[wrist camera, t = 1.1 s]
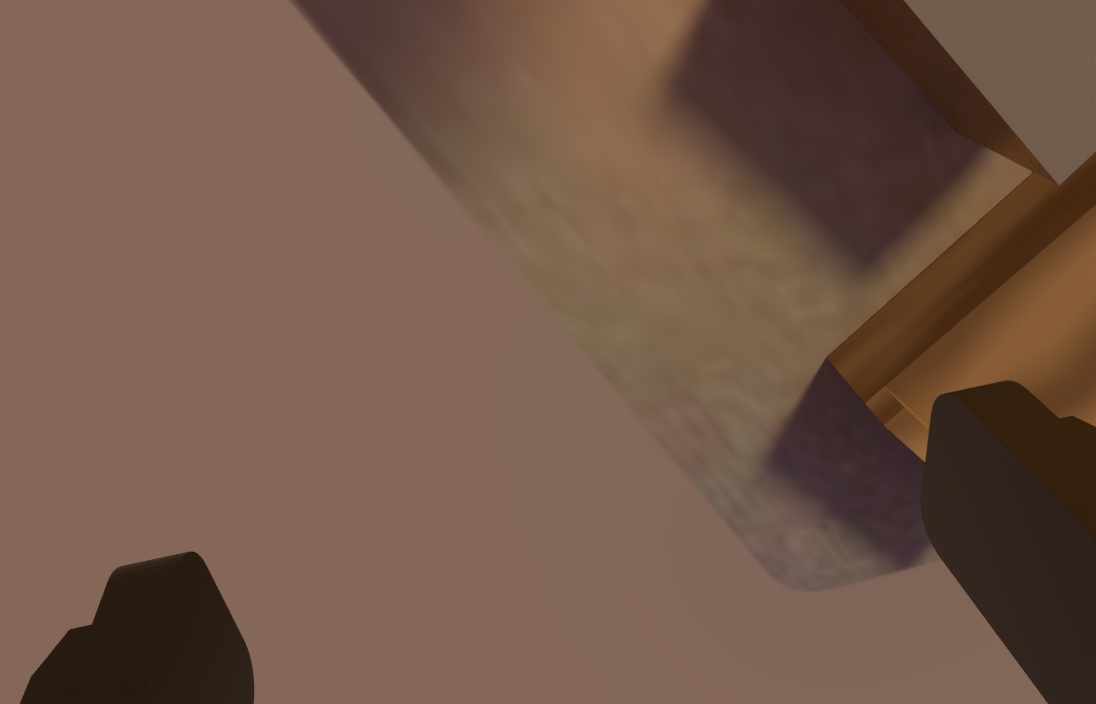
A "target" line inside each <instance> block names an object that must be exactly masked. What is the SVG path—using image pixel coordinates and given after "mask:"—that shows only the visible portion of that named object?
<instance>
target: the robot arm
mask: <svg viewBox="0 0 1096 704" xmlns="http://www.w3.org/2000/svg"><path fill="white" fill-rule="evenodd" d="M921 511H922V517H923V521H924V525H925V528H926V531H927V534H928V536H929V539H930V541H931V543H932V545H933V547H934V549H935V550H936V552H937V554H938V555H939V557H940V558H941V559H942V561H943V562H944V563H945V565H946V566H947V567H948V569H949V570H950V571H951V573H952V574H953V575H954V577H955V578H956V579H957V581H958V582H959V584H960V585H961V586H962V588H963V589H964V590H965V592H966V593H967V594H968V596H969V597H970V598H971V600H972V601H973V603H974V604H975V605H976V607H977V608H978V609H979V611H980V612H981V613H982V615H983V616H984V617H985V619H986V620H987V622H988V623H989V624H990V626H991V627H992V628H993V630H994V631H995V632H996V634H997V635H998V636H999V638H1000V639H1001V640H1002V642H1003V643H1004V644H1005V646H1006V647H1007V649H1008V650H1009V651H1010V653H1011V654H1012V655H1013V657H1014V658H1015V659H1016V661H1017V662H1018V663H1019V665H1020V666H1021V668H1022V669H1023V670H1024V672H1025V673H1026V674H1027V676H1028V677H1029V678H1030V680H1031V681H1032V682H1033V684H1034V685H1035V686H1036V688H1037V689H1038V691H1039V692H1040V693H1041V695H1042V696H1043V697H1044V699H1045V700H1046V701H1047V703H1048V704H1096V427H1095V426H1093V425H1091V424H1089V423H1087V422H1085V421H1083V420H1081V419H1079V418H1077V417H1074V416H1068V417H1063V418H1058V417H1057V416H1056V415H1055V414H1054V413H1053V412H1052V411H1051V410H1049V409H1048V408H1047V407H1046V406H1045V405H1044V404H1043V403H1042V402H1041V401H1040V400H1038V399H1037V398H1036V397H1035V396H1034V395H1033V394H1032V393H1031V392H1030V391H1028V390H1027V389H1026V388H1025V387H1024V386H1022V385H1021V384H1019V383H1017V382H1015V381H1011V380H1005V381H1001V382H996V383H991V384H987V385H982V386H977V387H973V388H968V389H963V390H958V391H954V392H949V393H944V394H941V395H939V396H938V397H937V398H936V400H935V401H934V403H933V406H932V411H931V418H930V426H929V434H928V442H927V451H926V459H925V467H924V475H923V484H922V492H921ZM253 703H254V677H253V669H252V664H251V659H250V655H249V651H248V648H247V646H246V643H245V641H244V639H243V637H242V635H241V633H240V631H239V629H238V627H237V625H236V623H235V621H234V620H233V618H232V615H231V613H230V611H229V609H228V607H227V605H226V604H225V601H224V600H223V598H222V595H221V593H220V591H219V589H218V587H217V586H216V583H215V582H214V580H213V578H212V576H211V574H210V572H209V570H208V568H207V566H206V564H205V562H204V560H203V559H202V558H201V557H200V556H199V555H198V554H197V553H195V552H185V553H181V554H176V555H171V556H167V557H162V558H157V559H153V560H148V561H143V562H138V563H134V564H129V565H124V566H120V567H118V568H117V569H115V570H114V572H113V573H112V574H111V576H110V578H109V580H108V582H107V585H106V588H105V591H104V593H103V596H102V599H101V601H100V604H99V607H98V609H97V612H96V615H95V618H94V620H93V623H92V625H88V626H84V627H78V628H75V629H70V630H69V631H68V632H67V633H66V635H65V636H64V637H63V638H62V639H61V641H60V642H59V643H58V644H57V646H56V647H55V648H54V649H53V651H52V652H51V653H50V654H49V656H48V657H47V658H46V659H45V660H44V662H43V663H42V664H41V665H40V667H39V668H38V669H37V670H36V671H35V673H34V674H33V675H32V676H31V678H30V680H29V683H28V685H27V688H26V690H25V693H24V695H23V697H22V700H21V702H20V704H253Z"/></svg>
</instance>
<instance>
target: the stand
mask: <svg viewBox="0 0 1096 704" xmlns="http://www.w3.org/2000/svg"><path fill="white" fill-rule="evenodd" d="M827 359H828V360H829V361H830V363H831V364H832V365H833V366H834V367H835V368H836V370H837V371H838V372H839V373H840V374H841V376H842V377H843V378H844V379H845V380H846V381H847V383H848V384H849V385H850V386H851V387H852V389H853V390H854V391H855V392H856V393H857V394H858V396H859V397H860V398H861V399H862V400H863V402H864V403H865V404H866V405H867V406H868V408H869V409H870V410H871V411H872V412H873V413H874V415H875V416H876V417H877V418H878V419H879V421H880V422H881V423H882V424H883V425H884V426H885V427H886V428H887V429H888V430H889V431H890V432H892V433H893V434H894V435H895V436H896V437H897V438H898V439H899V440H901V441H902V442H903V443H904V444H905V445H906V446H907V447H908V448H910V449H911V450H912V451H913V452H914V453H915V454H916V455H917V456H919V457H920V458H921V459H922V460H923V461H924V462H925V459H926V451H927V442H928V434H929V426H930V418H931V411H932V406H933V403H934V401H935V400H936V398H937V397H938V396H939V395H941V394H944V393H949V392H954V391H958V390H963V389H968V388H973V387H977V386H982V385H987V384H991V383H996V382H1001V381H1005V380H1011V381H1015V382H1017V383H1019V384H1021V385H1022V386H1024V387H1025V388H1026V389H1027V390H1028V391H1030V392H1031V393H1032V394H1033V395H1034V396H1035V397H1036V398H1037V399H1038V400H1040V401H1041V402H1042V403H1043V404H1044V405H1045V406H1046V407H1047V408H1048V409H1049V410H1051V411H1052V412H1053V413H1054V414H1055V415H1056V416H1057V417H1058V418H1063V417H1068V416H1074V417H1077V418H1079V419H1081V420H1083V421H1085V422H1087V423H1089V424H1091V425H1093V426H1095V427H1096V152H1095V153H1094V154H1093V155H1091V156H1090V157H1089V158H1088V159H1087V160H1086V161H1085V162H1084V163H1083V164H1082V165H1081V166H1080V167H1079V168H1077V169H1076V170H1075V171H1074V172H1073V173H1072V174H1071V175H1070V176H1069V177H1068V178H1067V179H1066V180H1065V181H1063V182H1062V183H1061V184H1060V185H1057V184H1055V183H1053V182H1051V181H1050V180H1048V179H1046V178H1044V177H1042V176H1040V175H1038V174H1036V173H1033V174H1032V175H1030V176H1029V177H1028V178H1027V179H1026V180H1025V181H1024V182H1023V183H1021V184H1020V185H1019V186H1018V187H1017V188H1016V189H1015V190H1014V191H1013V192H1011V193H1010V194H1009V195H1008V196H1007V197H1006V198H1005V199H1004V200H1002V201H1001V202H1000V203H999V204H998V205H997V206H996V207H995V208H994V209H992V210H991V211H990V212H989V213H988V214H987V215H986V216H985V217H983V218H982V219H981V220H980V221H979V222H978V223H977V224H976V225H975V226H973V227H972V228H971V229H970V230H969V231H968V232H967V233H966V234H964V235H963V236H962V237H961V238H960V239H959V240H958V241H957V242H956V243H954V244H953V245H952V246H951V247H950V248H949V249H948V250H947V251H945V252H944V253H943V254H942V255H941V256H940V257H939V258H938V259H937V260H935V261H934V262H933V263H932V264H931V265H930V266H929V267H928V268H926V269H925V270H924V271H923V272H922V273H921V274H920V275H919V276H918V277H916V278H915V279H914V280H913V281H912V282H911V283H910V284H909V285H907V286H906V287H905V288H904V289H903V290H902V291H901V292H900V293H899V294H897V295H896V296H895V297H894V298H893V299H892V300H891V301H890V302H888V303H887V304H886V305H885V306H884V307H883V308H882V309H881V310H880V311H878V312H877V313H876V314H875V315H874V316H873V317H872V318H871V319H869V320H868V321H867V322H866V323H865V324H864V325H863V326H862V327H861V328H859V329H858V330H857V331H856V332H855V333H854V334H853V335H852V336H850V337H849V338H848V339H847V340H846V341H845V342H844V343H843V344H842V345H840V346H839V347H838V348H837V349H836V350H835V351H834V352H833V353H831V354H830V355H829V356H828V357H827Z"/></svg>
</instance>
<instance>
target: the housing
mask: <svg viewBox="0 0 1096 704" xmlns="http://www.w3.org/2000/svg"><path fill="white" fill-rule="evenodd" d="M841 1H842V2H843V3H844V4H845V6H846V7H847V8H848V9H849V10H850V11H851V12H852V13H853V15H854V16H855V17H856V18H857V19H858V20H859V21H860V22H861V24H862V25H863V26H864V27H865V28H866V29H867V30H868V32H869V33H870V34H871V35H872V36H873V37H874V38H875V39H876V41H877V42H878V43H879V44H880V45H881V46H882V47H883V48H884V50H885V51H886V52H887V53H888V54H889V55H890V56H891V58H892V59H893V60H894V61H895V62H896V63H897V64H898V65H899V67H900V68H901V69H902V70H903V71H904V72H905V73H906V74H907V76H908V77H909V78H910V79H911V80H912V81H913V82H914V84H915V85H916V86H917V87H918V88H919V89H920V90H921V91H922V93H923V94H924V95H925V96H926V97H927V98H928V99H929V100H930V102H931V103H932V104H933V105H934V106H935V107H936V108H937V109H938V111H939V112H940V113H941V114H942V115H943V116H944V117H945V119H946V120H947V121H948V122H949V123H950V124H951V125H952V126H953V128H954V129H955V130H956V131H957V132H958V133H960V134H962V135H964V136H966V137H968V138H970V139H971V140H973V141H975V142H977V143H979V144H981V145H983V146H985V147H987V148H989V149H990V150H992V151H994V152H996V153H998V154H1000V155H1002V156H1004V157H1006V158H1008V159H1010V160H1011V161H1013V162H1015V163H1017V164H1019V165H1021V166H1023V167H1025V168H1027V169H1029V170H1031V171H1032V172H1034V173H1036V174H1038V175H1040V176H1042V177H1044V178H1046V179H1048V180H1050V181H1051V182H1053V183H1055V184H1057V185H1060V184H1061V183H1062V182H1063V181H1065V180H1066V179H1067V178H1068V177H1069V176H1070V175H1071V174H1072V173H1073V172H1074V171H1075V170H1076V169H1077V168H1079V167H1080V166H1081V165H1082V164H1083V163H1084V162H1085V161H1086V160H1087V159H1088V158H1089V157H1090V156H1091V155H1093V154H1094V153H1095V152H1096V0H841Z"/></svg>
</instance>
